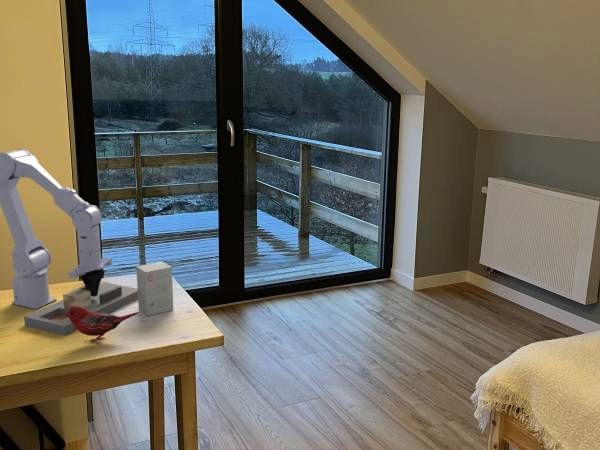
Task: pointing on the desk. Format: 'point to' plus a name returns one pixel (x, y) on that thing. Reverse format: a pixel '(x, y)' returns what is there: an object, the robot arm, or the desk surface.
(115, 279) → the desk surface
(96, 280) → the robot arm
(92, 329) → the decorative bird figurine
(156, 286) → the small box
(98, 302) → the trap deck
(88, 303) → the maple block
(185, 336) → the desk surface
